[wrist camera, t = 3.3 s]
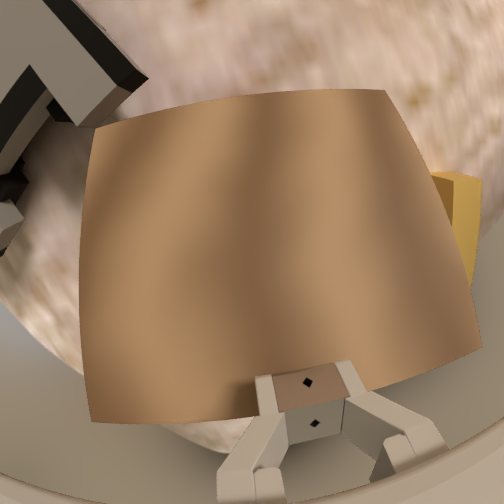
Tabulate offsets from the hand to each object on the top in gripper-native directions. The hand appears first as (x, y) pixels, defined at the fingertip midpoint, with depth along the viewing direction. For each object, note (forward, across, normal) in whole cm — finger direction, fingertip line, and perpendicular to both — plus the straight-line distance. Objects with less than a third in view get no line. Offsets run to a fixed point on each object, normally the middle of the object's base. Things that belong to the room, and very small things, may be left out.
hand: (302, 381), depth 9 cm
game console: (+19, +23, -22) cm, 37 cm away
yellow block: (+18, -19, +3) cm, 26 cm away
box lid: (+5, 0, -3) cm, 6 cm away
